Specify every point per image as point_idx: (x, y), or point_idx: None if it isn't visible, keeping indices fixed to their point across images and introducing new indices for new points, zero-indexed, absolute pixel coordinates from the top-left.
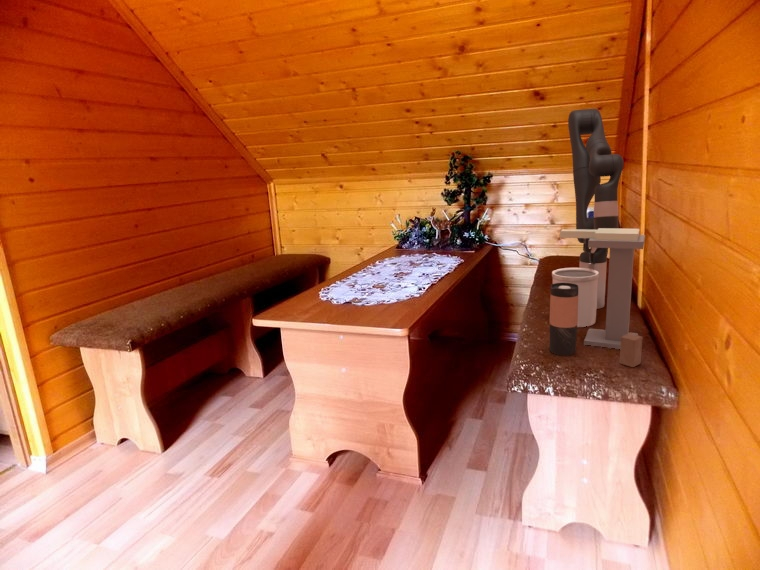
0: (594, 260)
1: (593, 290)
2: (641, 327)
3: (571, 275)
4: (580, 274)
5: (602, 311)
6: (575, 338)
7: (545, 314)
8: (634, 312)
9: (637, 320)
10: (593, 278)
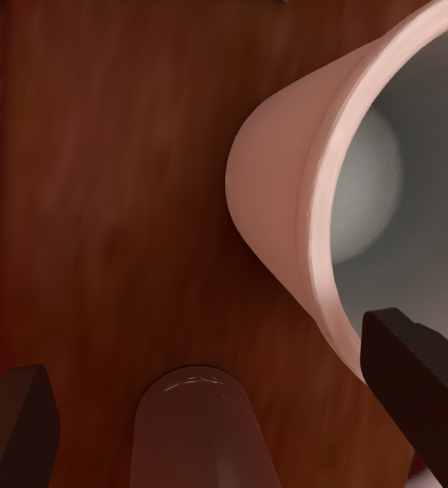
0: (400, 333)
1: (323, 76)
2: (17, 87)
3: None
4: None
5: (158, 337)
6: None
7: None
8: (8, 332)
9: (17, 203)
10: (389, 31)
